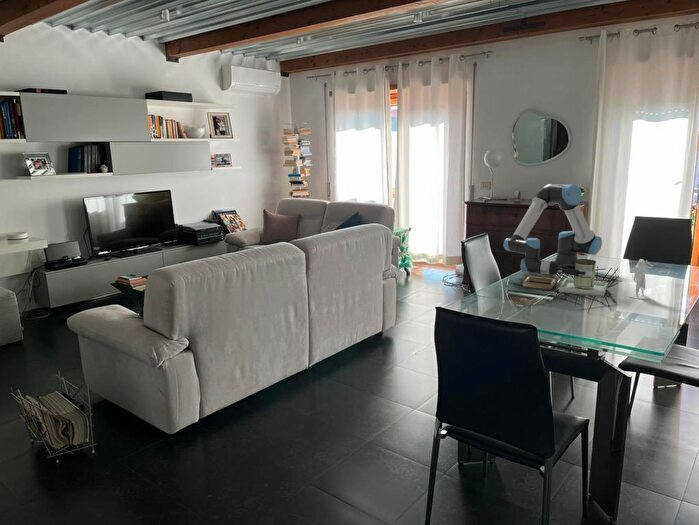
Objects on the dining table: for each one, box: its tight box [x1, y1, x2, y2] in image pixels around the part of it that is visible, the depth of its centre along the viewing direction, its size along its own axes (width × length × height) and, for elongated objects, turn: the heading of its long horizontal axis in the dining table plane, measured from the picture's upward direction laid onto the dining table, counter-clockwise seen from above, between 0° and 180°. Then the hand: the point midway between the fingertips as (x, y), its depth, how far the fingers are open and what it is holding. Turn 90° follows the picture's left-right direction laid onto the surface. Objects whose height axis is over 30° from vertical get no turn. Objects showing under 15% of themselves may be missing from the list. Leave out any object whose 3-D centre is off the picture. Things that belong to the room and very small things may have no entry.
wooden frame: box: [522, 275, 557, 290], centre depth 298 cm, size 15×15×2 cm
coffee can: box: [573, 258, 597, 288], centre depth 286 cm, size 10×10×14 cm
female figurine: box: [628, 258, 654, 300], centre depth 268 cm, size 11×16×20 cm
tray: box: [558, 278, 608, 298], centre depth 287 cm, size 22×22×2 cm
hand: (593, 271), depth 283 cm, fingers closed on coffee can, 10 cm apart
